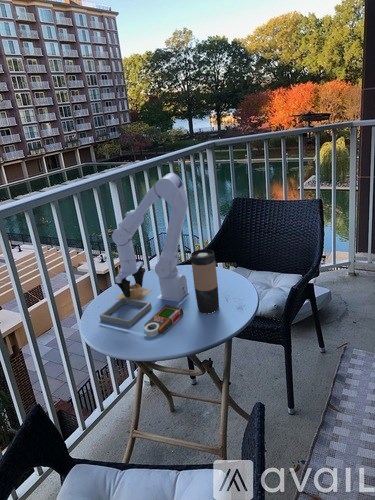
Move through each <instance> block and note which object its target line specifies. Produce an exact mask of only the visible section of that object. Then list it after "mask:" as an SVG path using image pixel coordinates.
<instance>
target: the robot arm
mask: <svg viewBox="0 0 375 500" xmlns="http://www.w3.org/2000/svg"><path fill="white" fill-rule="evenodd" d="M161 199H162V200H164V201H165V202H167V203H168V204H169V205H170V206H171V212H170V217H169V221H168V225H167V231H166V232H165V233H166V235H165V237H164V238H165V240H164V243H163V248H162V251H161V253H160V256H159V259H158V262H156V264H155V265H154V273H155V274H156V275H157V278H158V283H159V287H160V294H159V295H158V296H156V299H160V300H161V299H162V300H165V301H171V302H180V301H182V299H183V298H185V297H186V295H188V293H190V291H189V289H188V283H187V282H188V281H187V278H186V277H187V276H186V275H184V274H181V272H179V270H178V268H177V265H178V264H179V257H178V253H179V250H178V248H179V243H180V239H181V236H182V231H183V228H184V223H185V219H186V215H187V211H188V207H189V201H188V197H187V194H186V190H185V187H184V182H183V180H182V179H181V178H180V176H178V174H176V173H175V172H169V173H166V174H165V175H164V176H163V177H161V178H160V179H158V180H157V181H156V182H155V184H153V185H152V186H151V188H149V190H148V191H147V192H146V194H145V195H144V197H143V199H141V201H140V203H139V204H138V205H137V207H135V208H136V209H130V210H129V211H127V212H125V214H124V216H125V217H124V219H122V221H121V222H119V223H118V224H117V226H118V228H116V229H114V230H113V232H112V234H111V239H112V241H113V242H114V243H115V245H116V250H117V255H118V260H119V264H120V269H119V273H118V274H117V275H116V277H114V283H115V284H116V285H117V287H118V288H119V289H120V290H121V292H122V293H123V294H124V296H125V297H130V284H131V280H127V279H126V278H128V277H130V276H133V279H134V284H135V283H136V284H139V285H140V286H141V288H143V283H144V282H143V281H144V275H145V272H146V268H145V267H144V262H143V261H136V260H137V259H136V254H135V250H134V244H133V237H134V234H135V233H136V231H137V230H138V229H140V227H141V225H142V224H143V222H144V220H145V219H144V218H145V217H144V215H145V213H146V212H147V211H148V210H149V209H150V207H151V206H152V205H153V204H154V203H155V201H157V200H161Z"/></svg>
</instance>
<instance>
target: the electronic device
mask: <svg viewBox="0 0 375 500" xmlns="http://www.w3.org/2000/svg"><path fill="white" fill-rule="evenodd" d="M183 315H184V308H182V307H178V306H175V305H170V304H165V305H164V306H163V307H162V308H161V309H160V310H159V311H157V313H156V314H155V315H153V316H152V317H151V318H150V319H149V320H148V321H147V322H146V323H145V324H144V328H143V329H144V333H145V335H146V336H147V337H151V338H152V337H156V336H158V335H164V334H165V332H167V331H168V329H170V328H171V327H172V326H173V325H174V324H176V323H177V321H179V320H180V319H181V317H182V316H183Z"/></svg>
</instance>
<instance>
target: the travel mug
mask: <svg viewBox="0 0 375 500" xmlns="http://www.w3.org/2000/svg"><path fill="white" fill-rule="evenodd" d="M215 255H216V254H215V252H214V250H213V249H207V248H203V249H202V248H201V249H197V250H195V251H192V252H191V254H190V260H191V267H192V277H193V287H194V293H195V299H196V305H197V310H198V312H199V313H200V314H203V313H206V314H205V315H209V314H208V313H211V314H213V313H212V312H214V311H216V310H218V311H219V309H220V300H219V299H220V297H219V285H218V283H219V282H218V277H217V264H216V256H215ZM218 308H219V309H218ZM216 312H217V311H216ZM214 313H215V312H214Z"/></svg>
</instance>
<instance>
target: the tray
mask: <svg viewBox="0 0 375 500" xmlns="http://www.w3.org/2000/svg"><path fill="white" fill-rule="evenodd" d="M124 304H125V305H130V306H135V307H141V308H140V310H139V311H137V312H136V313H135V314H134V315H133V316H132V317H131V318H129V319H124V318H119V317H114V316H111V315H112V314H113V313H114V312H115V311H116V310H118V309H119V308H120V307H121V306H122V305H124ZM152 308H153V307H152V302H149V301H143V300H140V301H139V300H133V299H128V298H121V299H118V301H116V302H115V303H114V304H112V305H111V306H110V307H108V308H107V309H106V310H105V311H103V312H102V313H101V314H100V315H99V318H100V321H103V322H107V323H111V324H116V325H121V326H123V327H129V328H131V327H132V326H133V325H134V324H136V323H137V322H138V321H139V320H140V319H141V318H143V316H144V315H145V314H146V313H148V312H149V311H150V310H151V309H152Z"/></svg>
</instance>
